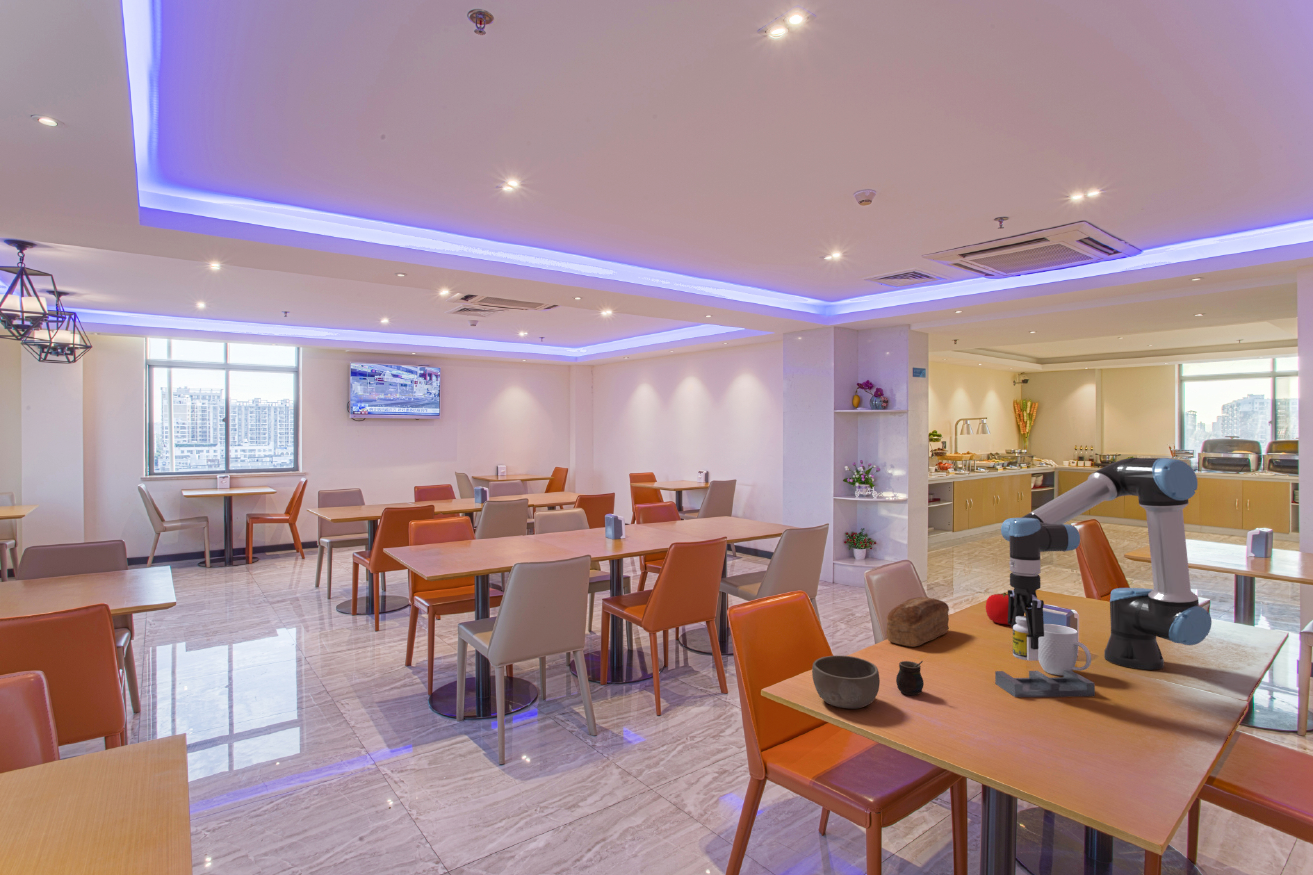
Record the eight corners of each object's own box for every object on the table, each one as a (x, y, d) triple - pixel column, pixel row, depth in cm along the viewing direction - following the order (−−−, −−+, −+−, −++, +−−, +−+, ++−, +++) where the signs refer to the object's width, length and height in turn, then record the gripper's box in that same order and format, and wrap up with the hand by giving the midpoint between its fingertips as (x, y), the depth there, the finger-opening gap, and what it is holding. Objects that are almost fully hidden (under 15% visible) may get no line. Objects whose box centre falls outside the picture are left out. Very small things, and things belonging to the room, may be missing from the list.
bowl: (845, 721, 164) (844, 681, 164) (798, 697, 180) (798, 660, 180) (894, 708, 172) (894, 669, 172) (846, 685, 188) (845, 650, 188)
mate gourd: (902, 685, 187) (903, 650, 187) (929, 693, 182) (929, 657, 182) (891, 692, 182) (891, 656, 182) (918, 700, 177) (918, 663, 177)
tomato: (993, 627, 245) (992, 596, 245) (981, 617, 259) (981, 588, 259) (1030, 629, 243) (1029, 597, 243) (1016, 619, 257) (1015, 589, 257)
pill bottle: (1007, 654, 186) (1007, 615, 186) (1028, 653, 187) (1028, 614, 187) (1021, 661, 180) (1021, 621, 180) (1043, 660, 181) (1042, 620, 181)
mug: (1099, 677, 193) (1099, 633, 193) (1081, 685, 187) (1081, 639, 187) (1046, 663, 205) (1046, 621, 205) (1028, 670, 199) (1027, 627, 199)
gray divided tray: (1071, 682, 189) (1070, 670, 189) (1094, 696, 179) (1094, 683, 179) (995, 683, 188) (995, 671, 188) (1014, 697, 178) (1014, 683, 178)
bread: (954, 632, 239) (953, 595, 240) (915, 651, 218) (915, 610, 219) (921, 626, 248) (921, 590, 248) (881, 643, 227) (881, 604, 227)
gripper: (993, 567, 193) (994, 645, 193) (1031, 580, 174) (1032, 667, 174) (1018, 567, 193) (1019, 645, 193) (1059, 580, 174) (1060, 667, 174)
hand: (1025, 655), depth 184 cm, fingers closed on pill bottle, 6 cm apart
